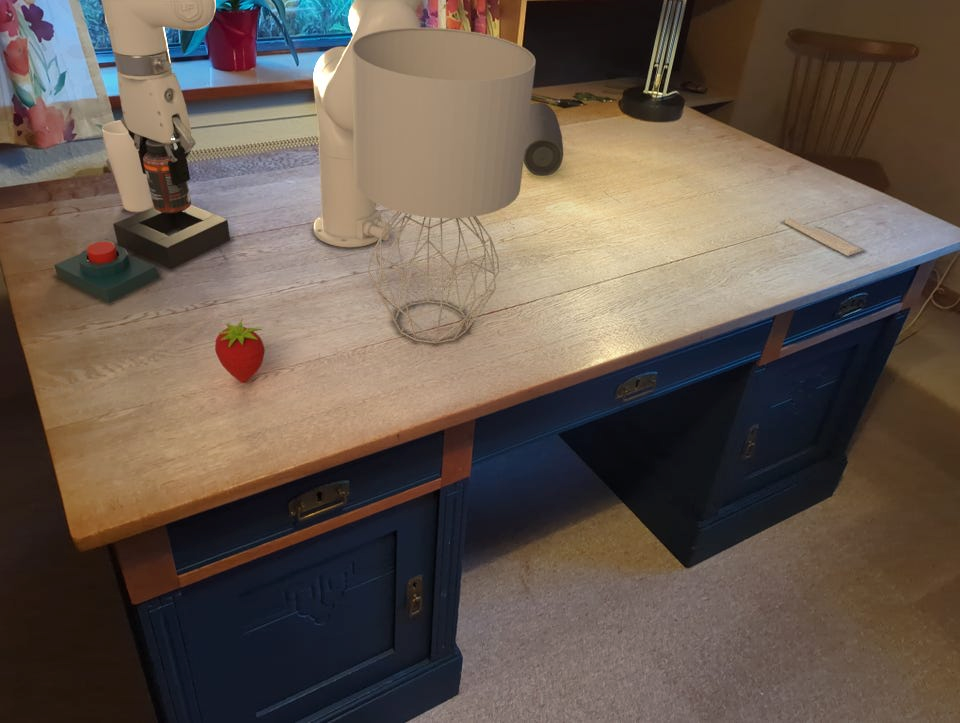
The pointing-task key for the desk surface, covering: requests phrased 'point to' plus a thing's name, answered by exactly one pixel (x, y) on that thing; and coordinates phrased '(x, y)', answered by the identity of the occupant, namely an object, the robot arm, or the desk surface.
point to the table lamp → (439, 136)
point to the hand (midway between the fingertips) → (166, 176)
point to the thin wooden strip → (825, 238)
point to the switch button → (101, 252)
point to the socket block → (171, 251)
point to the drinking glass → (126, 167)
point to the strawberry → (240, 351)
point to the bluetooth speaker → (543, 141)
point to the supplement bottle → (163, 181)
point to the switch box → (107, 274)
